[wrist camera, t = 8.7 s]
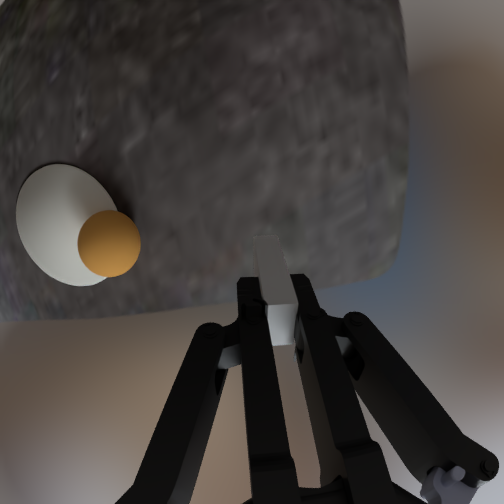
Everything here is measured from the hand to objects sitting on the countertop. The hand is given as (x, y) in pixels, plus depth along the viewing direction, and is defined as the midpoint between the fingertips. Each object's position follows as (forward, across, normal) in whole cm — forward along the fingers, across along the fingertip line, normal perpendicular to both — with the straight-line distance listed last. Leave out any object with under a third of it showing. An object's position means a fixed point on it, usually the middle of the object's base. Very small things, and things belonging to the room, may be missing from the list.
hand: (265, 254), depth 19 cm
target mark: (+7, -18, -1) cm, 20 cm away
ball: (+4, -12, -1) cm, 13 cm away
